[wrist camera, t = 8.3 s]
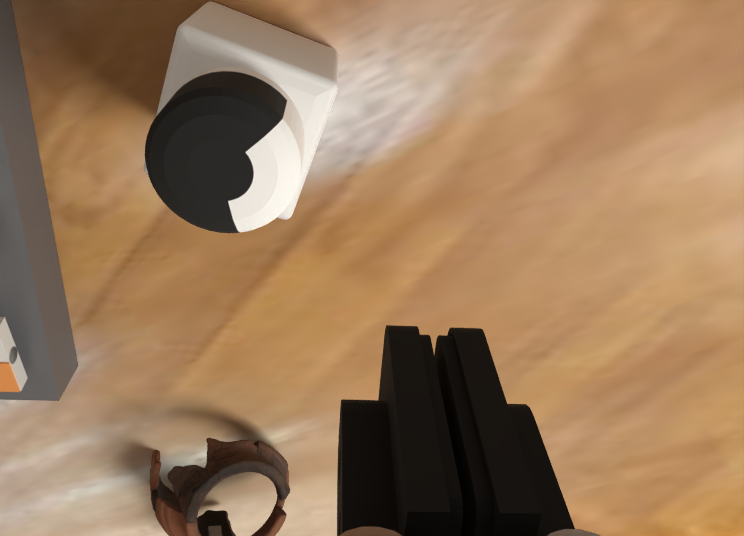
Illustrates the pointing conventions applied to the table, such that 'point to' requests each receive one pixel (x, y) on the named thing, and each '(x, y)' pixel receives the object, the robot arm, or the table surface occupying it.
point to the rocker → (10, 362)
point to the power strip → (28, 239)
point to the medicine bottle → (238, 120)
